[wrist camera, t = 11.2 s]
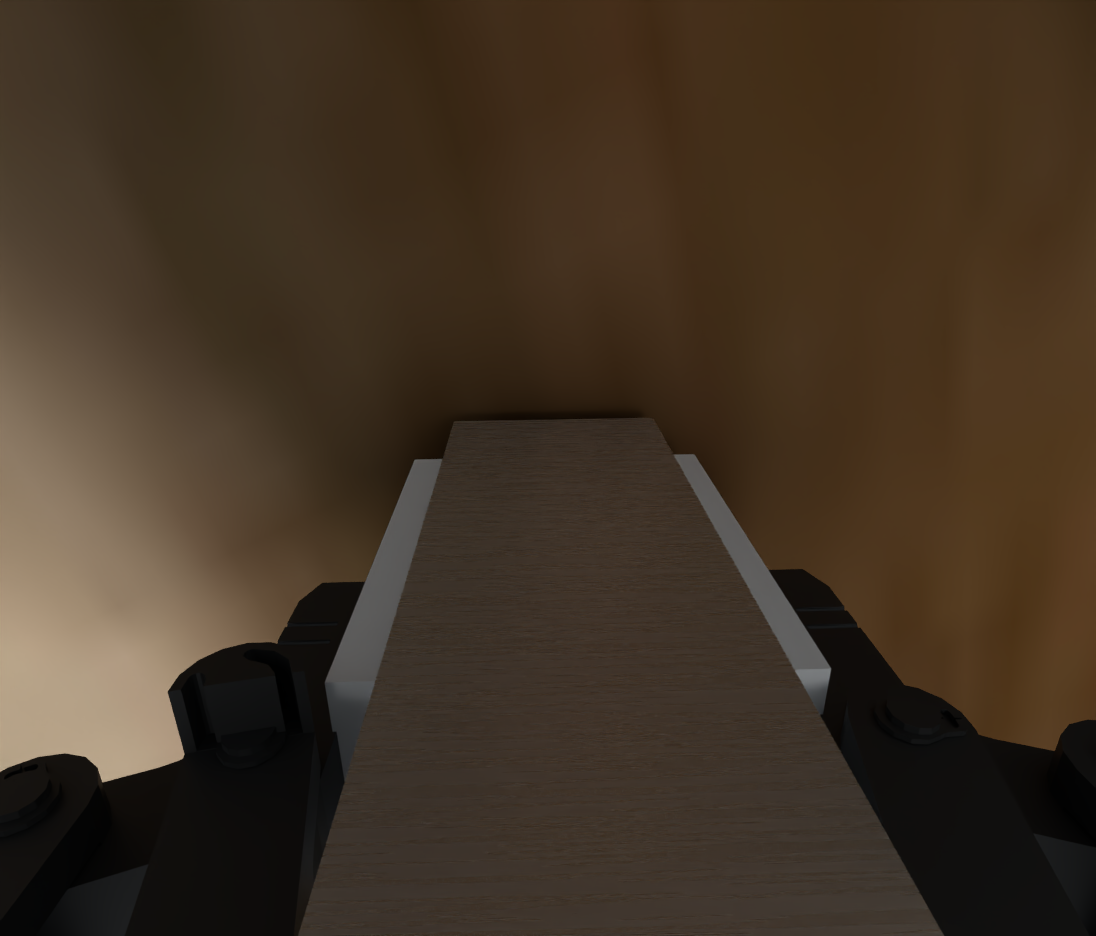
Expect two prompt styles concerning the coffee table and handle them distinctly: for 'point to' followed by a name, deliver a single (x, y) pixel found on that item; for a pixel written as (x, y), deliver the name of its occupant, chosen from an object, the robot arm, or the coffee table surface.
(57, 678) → the coffee table surface
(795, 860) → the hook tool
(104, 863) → the robot arm
